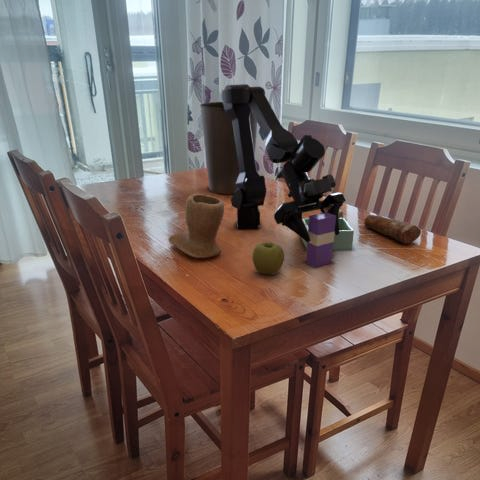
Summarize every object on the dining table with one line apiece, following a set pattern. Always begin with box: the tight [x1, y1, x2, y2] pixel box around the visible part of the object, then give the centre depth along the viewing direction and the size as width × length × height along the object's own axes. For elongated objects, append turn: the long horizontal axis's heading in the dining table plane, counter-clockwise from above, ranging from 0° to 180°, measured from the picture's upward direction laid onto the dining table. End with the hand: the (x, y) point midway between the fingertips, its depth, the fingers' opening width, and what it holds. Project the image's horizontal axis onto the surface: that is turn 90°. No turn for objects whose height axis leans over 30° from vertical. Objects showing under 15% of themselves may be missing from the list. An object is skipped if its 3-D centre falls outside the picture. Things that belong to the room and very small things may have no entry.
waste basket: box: [199, 101, 258, 195], centre depth 176 cm, size 27×20×30 cm
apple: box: [251, 241, 285, 276], centre depth 113 cm, size 8×8×7 cm
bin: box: [301, 217, 355, 251], centre depth 131 cm, size 12×11×5 cm
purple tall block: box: [305, 212, 336, 268], centre depth 117 cm, size 4×5×12 cm, turn 121°
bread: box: [363, 214, 422, 244], centre depth 136 cm, size 6×19×6 cm, turn 25°
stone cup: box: [168, 193, 225, 259], centre depth 123 cm, size 15×12×15 cm
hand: (323, 237), depth 115 cm, fingers open, 9 cm apart
